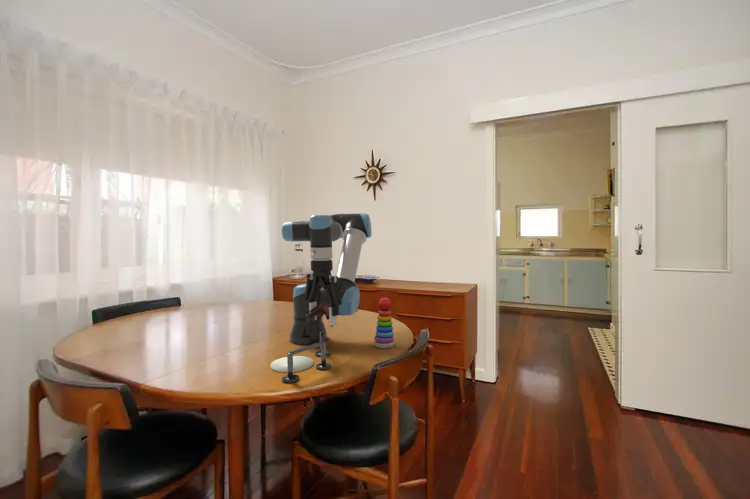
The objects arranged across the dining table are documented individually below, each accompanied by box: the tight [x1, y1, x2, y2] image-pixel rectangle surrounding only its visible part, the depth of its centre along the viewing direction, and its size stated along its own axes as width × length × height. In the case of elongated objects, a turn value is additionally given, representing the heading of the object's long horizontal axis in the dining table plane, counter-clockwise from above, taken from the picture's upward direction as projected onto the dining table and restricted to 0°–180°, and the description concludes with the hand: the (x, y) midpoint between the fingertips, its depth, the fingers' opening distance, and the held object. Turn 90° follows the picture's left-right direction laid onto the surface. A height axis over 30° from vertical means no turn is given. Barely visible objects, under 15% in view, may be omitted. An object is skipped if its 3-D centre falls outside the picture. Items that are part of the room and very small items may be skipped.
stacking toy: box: [373, 297, 396, 349], centre depth 137 cm, size 8×8×19 cm
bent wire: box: [281, 331, 332, 384], centre depth 117 cm, size 15×26×8 cm, turn 139°
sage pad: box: [269, 355, 315, 374], centre depth 118 cm, size 14×14×1 cm
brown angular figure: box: [305, 304, 335, 328], centre depth 126 cm, size 12×10×8 cm
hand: (322, 322), depth 125 cm, fingers closed on brown angular figure, 10 cm apart
